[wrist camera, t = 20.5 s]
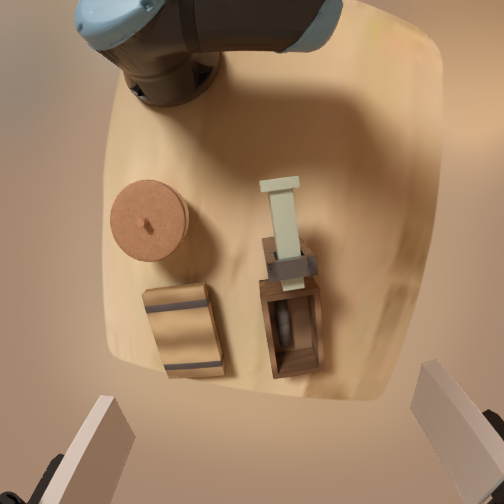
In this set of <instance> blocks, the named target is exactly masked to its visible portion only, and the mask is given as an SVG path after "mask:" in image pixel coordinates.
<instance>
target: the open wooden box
mask: <svg viewBox="0 0 504 504" xmlns="http://www.w3.org/2000/svg"><path fill="white" fill-rule="evenodd" d="M303 278H304V287H305V288H300V289H294V290H288V291H283V288H282V285H281V280H280V281H273V282H269V279H266V280H260V281H259V285H260V298H261V304H262V311H263V317H264V323H265V329H266V336H267V342H268V348H269V355H270V361H271V367H272V373H273V379H278V378H284V377H291V376H297V375H303V374H308V373H314V372H319V371H324V349H323V331H322V315H321V302H320V290H319V287H318V285H317V283H316V282H315V280H314V279H313V277H312V276H305V277H303Z"/></svg>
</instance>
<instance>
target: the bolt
mask: <svg viewBox="0 0 504 504" xmlns="http://www.w3.org/2000/svg"><path fill="white" fill-rule="evenodd" d="M259 186H260V192H268V197H269V203H270V210H271V217H272V223H273V230H274V237H275V244H276V251H277V258H278V259H285V258H291V257H298V256H301V252H300V244H299V236H298V228H297V220H296V213H295V206H294V198H293V192H292V188H297V187H300V182H299V176H291V177H283V178H276V179H269V180H262V181H259ZM281 285H282V288H283V291H288V290H294V289H300V288H305V287H304V278H303V277H299V278H293V279H286V280H281Z"/></svg>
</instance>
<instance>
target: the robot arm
mask: <svg viewBox="0 0 504 504" xmlns="http://www.w3.org/2000/svg"><path fill="white" fill-rule="evenodd" d="M342 8H343V2H342V0H80V1H79V3H78V5H77V8H76V12H75V26H76V29H77V31H78V33H79V34H80V35H81V36H82V37H83V38H84V39H85V40H86V41H87V43H88V45H89V46H90V47H91V48H93V49H94V50H96V51H98V52H99V53H100V54H102V55H103V56H104V57H106V58H107V59H108V60H110V61H111V62H113V63H114V64H115V65H117V66H118V67H119V68H121V69H122V70H123V72H124V76H125V80H126V83H127V85H128V87H129V89H130V90H131V91H132V93H133V94H134V95H135V96H137V97H138V98H139V99H141V100H142V101H144V102H146V103H148V104H150V105H153V106H159V107H171V106H177V105H181V104H184V103H186V102H188V101H191V100H192V99H194V98H196V97H197V96H199V95H200V94H201V93H203V92H204V91H205V90H206V89H207V88H208V87H209V86H210V84H211V83H212V82H213V80H214V79H215V77H216V75H217V72H218V69H219V65H220V53H219V52H223V51H274V52H275V53H287V52H304V53H308V52H312V51H315V50H318V49H320V48H321V47H323V46H324V45H325V44H326V43H327V42H328V40H329V39H330V37H331V36H332V34H333V32H334V30H335V28H336V26H337V24H338V21H339V18H340V15H341V12H342ZM411 410H412V412H413V413H414V415H415V416H416V418H417V420H418V421H419V423H420V425H421V427H422V428H423V430H424V432H425V433H426V435H427V437H428V439H429V440H430V442H431V444H432V445H433V447H434V449H435V451H436V452H437V454H438V456H439V457H440V460H441V461H442V463H443V465H444V467H445V469H446V470H447V472H448V474H449V476H450V478H451V480H452V482H453V483H454V485H455V487H456V489H457V491H458V493H459V495H460V497H461V499H462V501H463V503H464V504H481V503H483V502H484V501H485V500H486V499H487V498H488V497H489V496H490V495H491V496H492V497H493V498H492V499H491V501H489V502H488V503H487V504H504V421H503V420H502V419H501V417H500V416H499V415H498V414H496V413H494V412H492V411H491V410H489V409H488V410H486V411H485V412H483V413H481V412H480V410H479V409H478V408H477V407H476V406H475V404H474V403H473V402H472V401H471V399H470V398H469V397H468V396H467V395H466V393H465V392H464V391H463V390H462V389H461V388H460V386H459V385H458V384H457V383H456V382H455V380H454V379H453V378H452V377H451V376H450V375H449V374H448V373H447V371H446V370H445V369H444V368H443V367H442V366H441V364H440V363H439V362H438V361H437V360H436V359H434V360H431V361H428V362H425V363H422V364H421V369H420V373H419V377H418V382H417V386H416V389H415V394H414V397H413V401H412V404H411ZM135 437H136V436H135V435H134V433H133V431H132V429H131V427H130V426H129V424H128V422H127V420H126V418H125V416H124V415H123V413H122V411H121V409H120V407H119V405H118V403H117V401H116V399H115V397H113V396H103V395H100V397H99V399H98V400H97V402H96V403H95V405H94V407H93V408H92V410H91V411H90V413H89V415H88V417H87V418H86V420H85V421H84V423H83V425H82V426H81V428H80V430H79V432H78V433H77V435H76V437H75V438H74V440H73V442H72V444H71V445H70V447H69V449H68V451H67V452H66V454H65V455H63V454H59V455H57V456H56V457H55V458H54V459H53V460H52V461H51V462H50V464H49V466H48V467H47V469H46V470H47V471H45V473H44V474H43V478H41V480H40V482H39V483H38V485H37V487H36V489H35V491H34V492H33V494H32V496H31V498H30V500H29V501H28V503H27V504H110V503H111V500H112V498H113V495H114V492H115V489H116V487H117V484H118V481H119V479H120V476H121V473H122V471H123V468H124V465H125V463H126V460H127V457H128V455H129V453H130V450H131V448H132V445H133V442H134V440H135ZM0 504H26V503H25V502H24V501H23V500H22V499H21V498H20V497H19V496H17V495H16V494H15V493H13V492H4V493H2V494H1V495H0Z"/></svg>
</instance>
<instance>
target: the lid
mask: <svg viewBox="0 0 504 504" xmlns="http://www.w3.org/2000/svg"><path fill="white" fill-rule="evenodd" d="M142 299H143V302H144V306H145V310H146V313H147V316H148V319H149V322H150V325H151V329H152V332H153V335H154V338H155V341H156V344H157V347H158V350H159V353H160V356H161V358H162V361H163V364H164V367H165V370H166V372H167V375H168V378H169V379H172V378H173V379H174V378H194V377H209V376H221V375H225V369H226V366H225V362H224V357H223V353H222V349H221V345H220V341H219V337H218V333H217V329H216V324H215V320H214V316H213V311H212V307H211V302H210V297H209V293H208V289H207V284H206V282H199V283H192V284H185V285H177V286H170V287H162V288H154V289H147V290H146V291H145V292H144V293H143V294H142Z"/></svg>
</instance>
